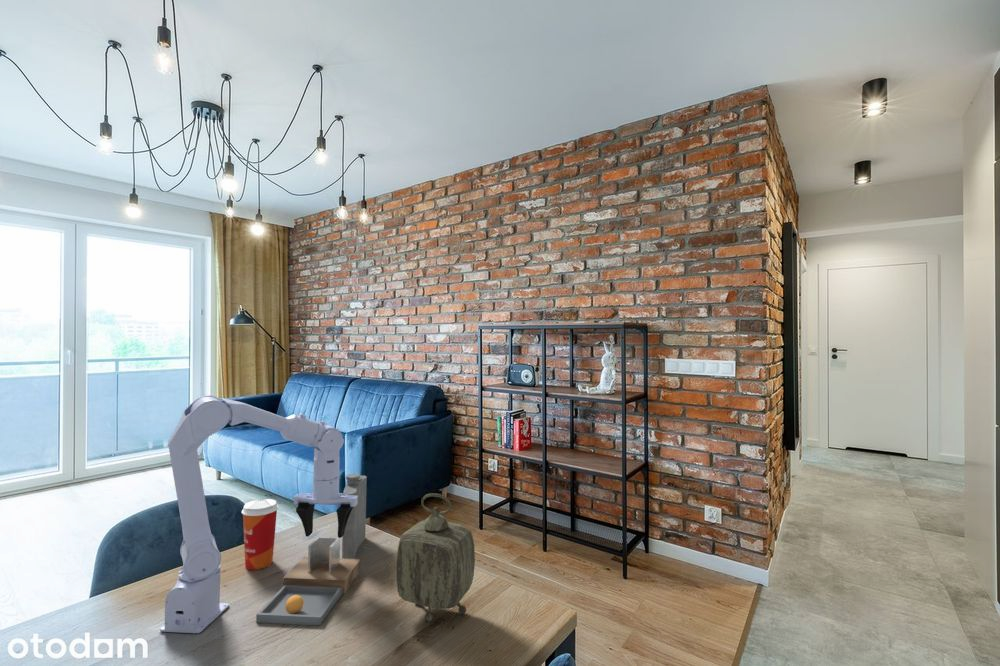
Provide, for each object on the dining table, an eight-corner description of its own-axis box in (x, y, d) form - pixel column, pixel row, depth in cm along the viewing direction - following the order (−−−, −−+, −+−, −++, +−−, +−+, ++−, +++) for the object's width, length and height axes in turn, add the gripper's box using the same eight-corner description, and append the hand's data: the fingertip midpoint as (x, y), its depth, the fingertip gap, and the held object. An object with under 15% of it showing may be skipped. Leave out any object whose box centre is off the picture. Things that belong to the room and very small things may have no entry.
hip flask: (353, 563, 119) (355, 484, 119) (336, 564, 118) (338, 484, 119) (366, 536, 135) (367, 466, 135) (351, 537, 134) (353, 466, 134)
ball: (308, 598, 99) (302, 616, 96) (292, 598, 99) (286, 616, 97) (302, 592, 97) (296, 610, 94) (286, 592, 97) (280, 610, 94)
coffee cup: (241, 559, 119) (242, 500, 120) (277, 554, 123) (278, 496, 123) (238, 575, 112) (240, 512, 112) (277, 568, 115) (278, 507, 115)
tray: (320, 625, 93) (320, 617, 93) (256, 622, 94) (256, 614, 94) (341, 594, 104) (342, 587, 105) (284, 592, 105) (284, 584, 105)
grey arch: (331, 573, 108) (331, 546, 108) (307, 572, 108) (308, 545, 108) (339, 562, 113) (340, 537, 113) (317, 561, 113) (317, 536, 113)
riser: (344, 594, 105) (344, 580, 105) (282, 591, 105) (283, 577, 105) (359, 571, 115) (360, 559, 115) (303, 569, 115) (303, 556, 115)
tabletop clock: (474, 611, 99) (476, 492, 99) (455, 636, 91) (458, 506, 91) (413, 597, 104) (415, 483, 104) (390, 620, 96) (393, 496, 96)
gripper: (362, 473, 114) (361, 529, 114) (303, 471, 115) (302, 527, 115) (352, 482, 107) (350, 542, 107) (289, 480, 108) (288, 539, 108)
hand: (325, 535), depth 111 cm, fingers open, 7 cm apart
